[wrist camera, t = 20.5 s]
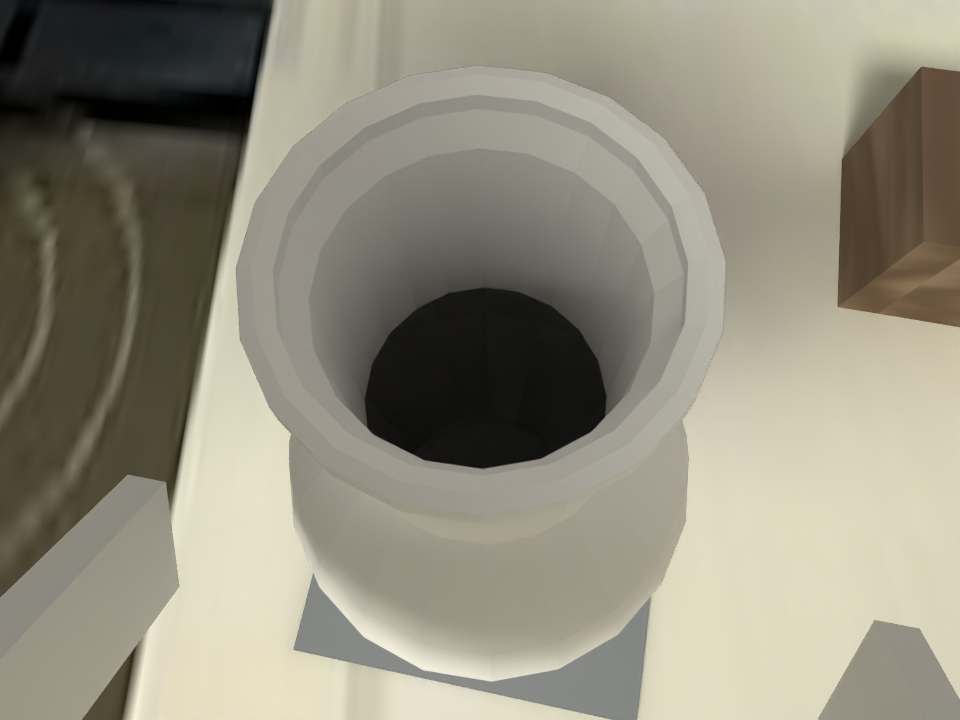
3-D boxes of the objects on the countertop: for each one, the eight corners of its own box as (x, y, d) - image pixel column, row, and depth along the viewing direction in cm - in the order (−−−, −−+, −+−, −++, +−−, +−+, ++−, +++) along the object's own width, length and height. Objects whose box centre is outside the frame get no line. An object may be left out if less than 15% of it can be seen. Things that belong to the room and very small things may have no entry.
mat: (297, 648, 29) (293, 649, 28) (377, 336, 33) (375, 333, 33) (633, 721, 28) (636, 724, 27) (669, 389, 32) (673, 386, 32)
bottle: (656, 479, 30) (1303, 128, 6) (522, 695, 28) (725, 1579, 3) (463, 350, 32) (376, -291, 8) (320, 538, 30) (-422, 407, 6)
